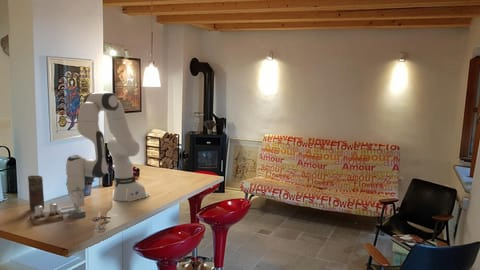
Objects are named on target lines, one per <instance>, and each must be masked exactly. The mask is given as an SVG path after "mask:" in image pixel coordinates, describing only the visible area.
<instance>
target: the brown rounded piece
mask: <svg viewBox="0 0 480 270" xmlns="http://www.w3.org/2000/svg"><path fill="white" fill-rule="evenodd" d="M27 178H28V179H27V183H28V197H29V198H28V199H29V210H30V211H31V212H35V206H39V205H41V206H43V209H44V208H45V197H44V196H45V195H44V182H43V176H41V175H29V176H27Z"/></svg>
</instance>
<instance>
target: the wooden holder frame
mask: <svg viewBox="0 0 480 270" xmlns="http://www.w3.org/2000/svg"><path fill="white" fill-rule="evenodd" d="M57 214H58V215H54V216H50V210H49V211H43V218H38V219H35V213H32V214H30V215H29V219H30V221H31V222H32V225H33V226H38V225H42V224H49V223H53V222H54V223H55V222H60V221H64V214H61V212H60V211H59V209H57Z"/></svg>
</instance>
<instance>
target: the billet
mask: <svg viewBox="0 0 480 270" xmlns="http://www.w3.org/2000/svg"><path fill="white" fill-rule="evenodd" d="M57 210H58V203H56V202H53V203H50V204H49V211H50V216H54V215H58V214H57Z"/></svg>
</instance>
